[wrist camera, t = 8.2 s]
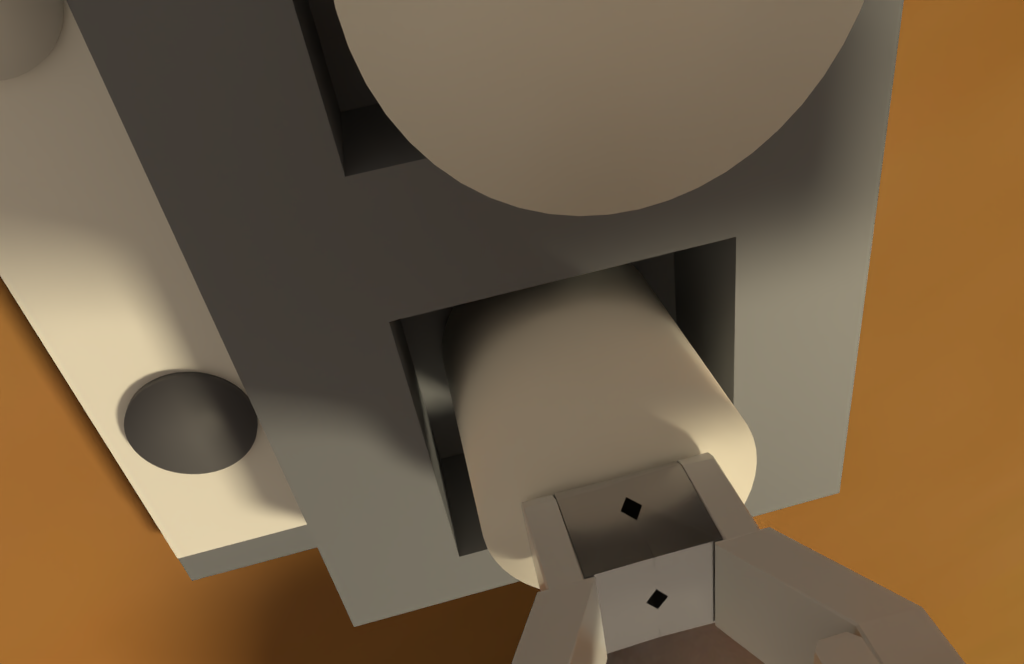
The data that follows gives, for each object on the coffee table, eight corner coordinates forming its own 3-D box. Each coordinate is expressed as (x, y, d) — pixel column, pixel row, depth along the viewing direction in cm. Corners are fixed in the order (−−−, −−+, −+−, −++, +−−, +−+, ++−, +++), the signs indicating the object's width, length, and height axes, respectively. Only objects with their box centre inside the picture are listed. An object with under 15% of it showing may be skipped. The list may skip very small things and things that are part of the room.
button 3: (651, 217, 14) (761, 351, 11) (661, 397, 17) (753, 553, 13) (419, 274, 14) (454, 430, 10) (465, 447, 17) (506, 622, 13)
